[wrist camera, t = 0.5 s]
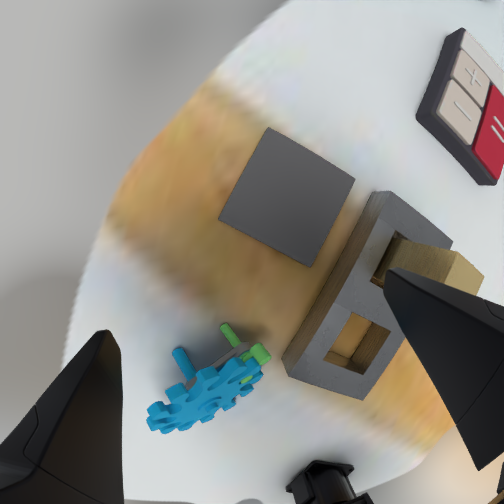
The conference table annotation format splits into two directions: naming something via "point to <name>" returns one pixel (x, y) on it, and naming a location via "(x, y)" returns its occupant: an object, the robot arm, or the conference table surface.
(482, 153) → the calculator
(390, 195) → the grey cinder block
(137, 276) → the conference table surface
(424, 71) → the conference table surface
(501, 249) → the conference table surface
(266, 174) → the rubber pad
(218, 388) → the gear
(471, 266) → the brass peg
